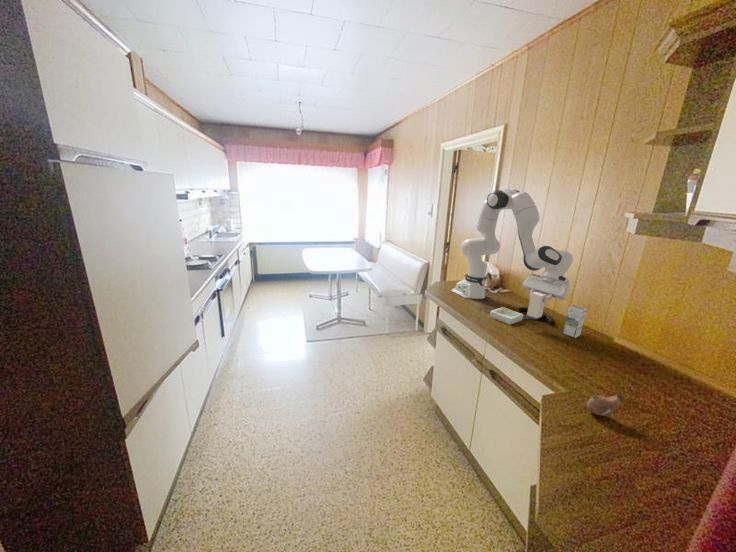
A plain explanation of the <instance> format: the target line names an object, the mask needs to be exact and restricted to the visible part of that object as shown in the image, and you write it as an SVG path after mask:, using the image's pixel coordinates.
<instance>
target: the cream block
mask: <svg viewBox="0 0 736 552" xmlns="http://www.w3.org/2000/svg"><path fill="white" fill-rule="evenodd" d="M546 297H548V295H547V294H544V293H540V292H537V291H536V292H533V293H531V297H530V299H529V303H528V312H526V316H531V317H534V318H539V317H542V313H543V312H544V308H545V305H546V303H545V302H542V300H543V298H546Z"/></svg>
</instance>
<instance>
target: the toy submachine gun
mask: <svg viewBox="0 0 736 552" xmlns="http://www.w3.org/2000/svg"><path fill="white" fill-rule="evenodd" d="M528 307H529V306H528ZM528 307H526V306H525V307H519V308H518V310H519V312H522V313H527V312H528ZM522 320H535V321H541V322H543V321H544V322H546V323H548V324H549V325H551V326H552V325H553V326H554V325H555V324H556V321H555V320H554V319H553V318H552V317H551V316H549V315H548V314H547V313H546V312H545V311H543V313H542V317H539V318H534V317H531V316H528V315H525V314H523V318H522Z"/></svg>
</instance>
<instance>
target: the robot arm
mask: <svg viewBox="0 0 736 552" xmlns="http://www.w3.org/2000/svg"><path fill="white" fill-rule="evenodd" d="M509 209H511V211H512V213H513V216H514V219H515V222H516V226H517V234H518V235H517V236H518V239H519V242H520V246H521V250H522V254H523V258H522V259H523V265H524V266H525V267H526V268H527V269H528V270H529V271H533V272H536V271H540V270H541V269H542V268H545V269H544V271H543V272H542V274H541V275H539V274H535V273H532V274H529V275H528V276H527V277H526V279H525V280H524V281H523V283H522V286H523V288H524V289H525V290H527V291H529V293H530V294H529V295H528V298H530V297H531V293H533V292H536V291H537V292H540V293H544V294H547V296H546V298H543V300H542V302H545V304H546V303H547V302H548V301H550V300H553V298H554V299H558V300H561V301H563V300H566V299H567V297H568V295H569V293H570V288H571V282H570V279H569V278H567V277H565V274H566V273H567V272H568V271H569V270H570V268H571V266H572V264H573V261H574V257H573V255H572V254H571V252H569V251H567V250H564V249H560V250H559V249H556V248H553V247H552V246H549V245H543V246H541V247H538V248H537V249H536V247H535V244H534V239H533V232H534V230H535V228H536V227H537V225H538V223H539V221H540V212H539V209H538V207H537V205H536V203H535V201H534V200H533V197H531V196H530V194H529V192H526V191H519V190H517V189H507V188H506V189H500V190H499V189H496V190H493V191H491V192H490V193H489V194H488V195H487V198H486V200H484V202H483V203H482V205H481V208H480V211H479V215H478V219H477V222H476V226H475V227H476V230H477V232H479V233H480V238H477V237H475V238H474V237H473V238H468V239H464V240H463V241H462V243H461V251H462V253H463V254H464V255H465V256H466V258H467V261H468V269H467V270H468V271H467V272H468V273H466V274H464V277H465V278H464V279H461V280H460V281H458V282H457V283H456V284H455V287H454V288H452V289H451V292H453V293H454V294H457V295H459V296H461V297H463V298H465V299H474V300H479V299H480V300H483V299H485V298H486V294H485V292H486V291H485V285H486V281H487V269H488V265H487V263H486V262H484V261H483V259H482V257H483V256H491V255H495V254H497V253H498V252H499V251H500V249H501V243H500V241H499V240H498V239H497V238H496V227H497V223H498V219H499V215H500V212H501V211H502V210H509Z"/></svg>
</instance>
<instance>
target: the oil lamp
mask: <svg viewBox="0 0 736 552" xmlns="http://www.w3.org/2000/svg"><path fill="white" fill-rule="evenodd" d="M623 401H624V400H623V397H622V395H620V394H619V393H616V394H614V395H612V396H607V397H606V396H604V395H598V394H593V395H592V396H591V397H590V398H589V399H588V400H587V402H586V407H587V409H588V411H589V412H590V413H592V414H594V415H596V416H600V417H601V416H604V417H605V416H606V417H607V416H611V414H612V412H613V411H614V408H615V407H617V406H618V405H619V404H621V403H622V402H623Z"/></svg>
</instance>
